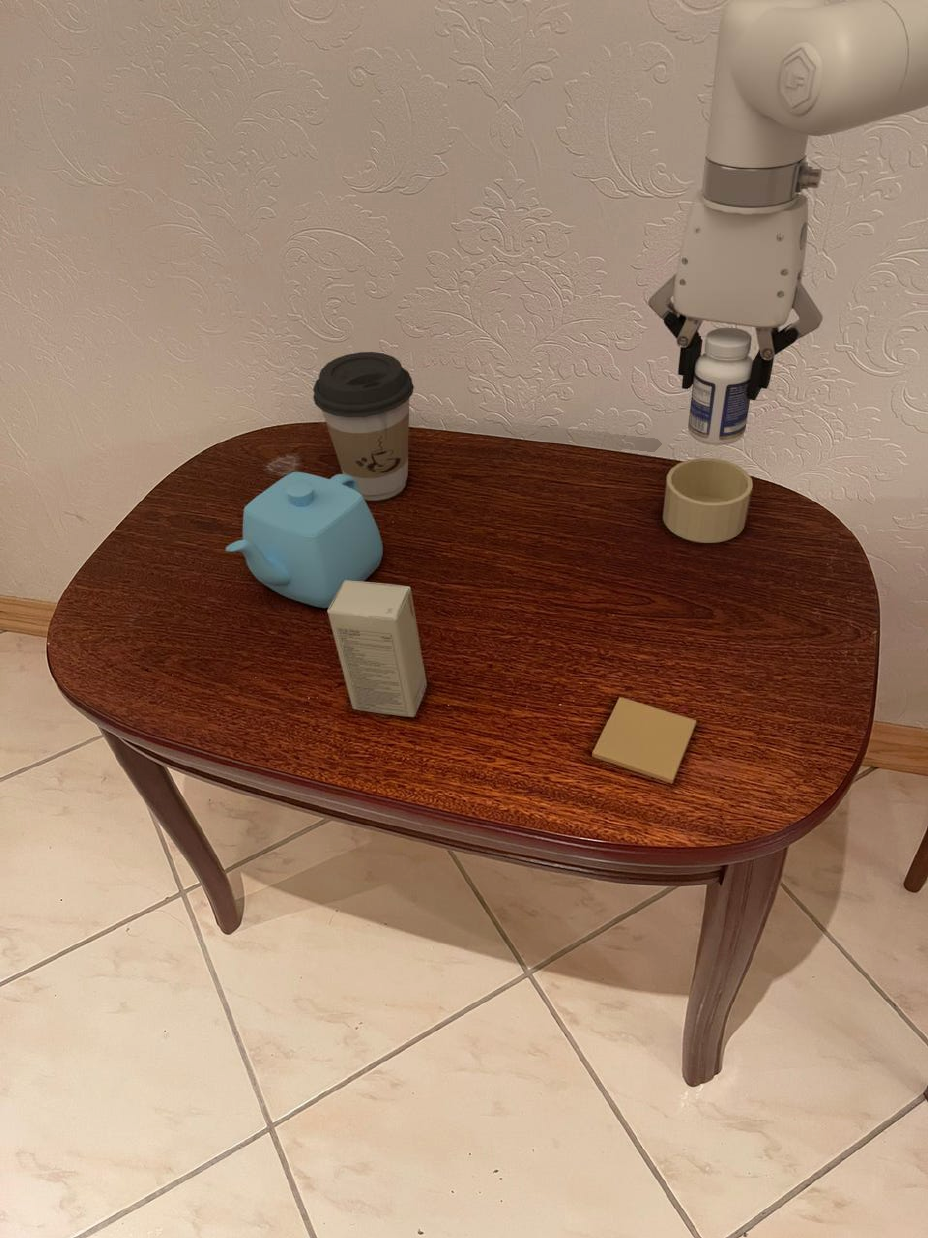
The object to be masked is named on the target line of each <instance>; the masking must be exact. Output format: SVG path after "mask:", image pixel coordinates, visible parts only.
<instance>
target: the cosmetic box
mask: <svg viewBox="0 0 928 1238" xmlns="http://www.w3.org/2000/svg"><path fill="white" fill-rule="evenodd" d="M326 612H327V615H328V620H329V623H330V627H331V630H332V634H333V638H334V639H333V640H334V642H335V646H336V650H337V654H338V657H339V662H340V666H341V670H342V673H343V677H344V681H345V686H346V689H347V693H348V697H349V700H350V705H351V708H352V709H353V710H357V711H361V712H369V713H375V714H376V713H377V714H384V715H391V716H399V717H408V718H415V717H416V714H417V713H418V710H419V708H420V704H421V703H422V700H423V698H424V695H425V692H426V689H427V686H428V683H427V678H426V671H425V666H424V660H423V653H422V648H421V641H420V636H419V629H418V623H417V618H416V612H415V607H414V601H413V595H412V588H411V587H410V586H407V585H400V584H392V583H381V582H373V581H372V582H371V581H364V582H361V581H348V580H345V581H344V582H343V584H342V586H341V588H340V589H339V591H338V593H337V594H336V596H335V598H334V599H333V601H332V603H331V605H330V607H329V608H327V611H326Z"/></svg>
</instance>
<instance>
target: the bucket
mask: <svg viewBox="0 0 928 1238" xmlns="http://www.w3.org/2000/svg"><path fill="white" fill-rule="evenodd" d="M753 484H754V483H753V479H752V477H751V475H750V474H749V473H748V471H746V470H745V469H743V468H742V467H741V466H739V465H737V464H735V463H733V462H730V461H727V460H723V459H718V458H708V457H707V458H706V457H701V458H700V457H699V458H693V459H688V460H687V459H686V460H685V461H681V462H679V463H677V464H675V466H673V467H671V469H669V471H668V473H667V475H666V479H665V489H664V497H663V505H662V506H663V507H662V521H663V523H664V525H665V526H666V528H667V529H668V530H669V531H670V532H671V533H673V534H674V535H676V536H678V537H680V538H682V539H684V540H688V541H689V542H690V541H691V542H696V543H702V544H714V543H722V542H726V541H729V540H731V539H733V538H735V537H737V536H738V535H740V534H741V533H742V532H743V530H744V528H745V526H746V523H747V519H748V514H749V509H750V504H751V499H752V494H753V488H754V485H753Z"/></svg>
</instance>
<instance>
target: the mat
mask: <svg viewBox="0 0 928 1238" xmlns="http://www.w3.org/2000/svg"><path fill="white" fill-rule="evenodd" d="M696 726H697V720H696V719H694V718H690V717H687V716H683V715H680V714H677V713H673V712H671V711H667V710H665V709H661V708H658V707H654V706H652V705H648V704H644V703H641V702H638V701H635V700H631V699H628V698H625V697H623V696H622V697H621V696H619V698H618V699H617V701H616V703H615V705H614V707H613V709H612V712H611V714H610V716H609V718H608V719H607V722H606V724H605V726H604V728H603V730H602V732H601V734H600V736H599V738H598V740H597V742H596V743H595V745H594V748H593V750H592V753H591V757H592V758H594V759H597V760H600V761H604V762H606V763H609V764H611V765H615V766H618V767H621V768H623V769H627V770H629V771H633V772H636V773H639V774H642V775H645V776H647V777H650V778H653V779H656V780H660V781H662V782H665V783H668V784H672V785H673V783H674V781H675V778H676V776H677V773H678V771H679V769H680V766H681V763H682V761H683V758H684V756H685V753H686V751H687V749H688V746H689V743H690V740H691V739H692V736H693V734H694V730H695V729H696Z"/></svg>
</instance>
